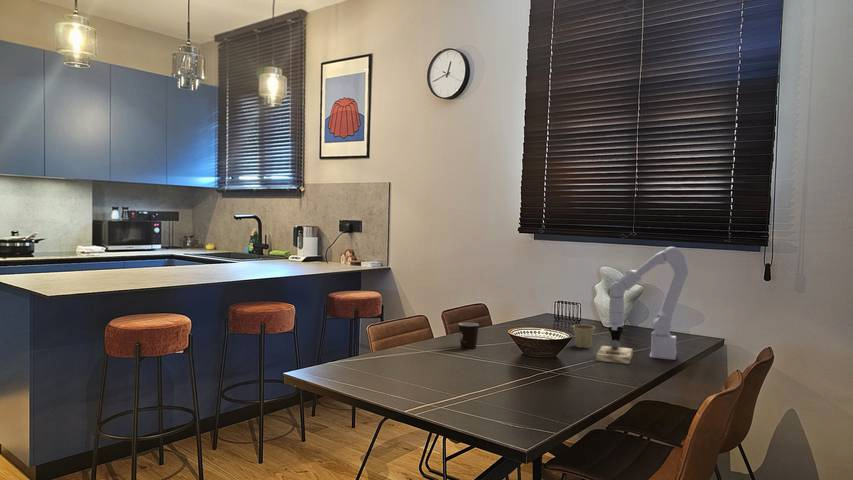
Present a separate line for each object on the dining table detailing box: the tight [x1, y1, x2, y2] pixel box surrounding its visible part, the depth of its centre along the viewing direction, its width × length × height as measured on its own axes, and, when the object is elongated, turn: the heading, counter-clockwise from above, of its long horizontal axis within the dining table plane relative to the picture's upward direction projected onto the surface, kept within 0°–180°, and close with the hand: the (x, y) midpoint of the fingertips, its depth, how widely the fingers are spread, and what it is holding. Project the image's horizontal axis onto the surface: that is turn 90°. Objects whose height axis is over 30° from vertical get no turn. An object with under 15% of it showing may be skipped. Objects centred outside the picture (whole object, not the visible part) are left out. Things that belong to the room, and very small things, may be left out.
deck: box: [595, 345, 634, 364], centre depth 232 cm, size 12×17×2 cm
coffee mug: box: [458, 322, 480, 350], centre depth 248 cm, size 12×9×10 cm
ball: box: [610, 340, 621, 349], centre depth 237 cm, size 4×4×4 cm
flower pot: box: [571, 324, 596, 349], centre depth 251 cm, size 9×9×9 cm
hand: (615, 344), depth 240 cm, fingers closed
